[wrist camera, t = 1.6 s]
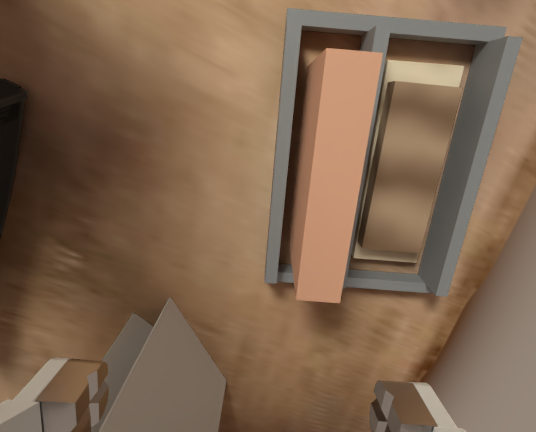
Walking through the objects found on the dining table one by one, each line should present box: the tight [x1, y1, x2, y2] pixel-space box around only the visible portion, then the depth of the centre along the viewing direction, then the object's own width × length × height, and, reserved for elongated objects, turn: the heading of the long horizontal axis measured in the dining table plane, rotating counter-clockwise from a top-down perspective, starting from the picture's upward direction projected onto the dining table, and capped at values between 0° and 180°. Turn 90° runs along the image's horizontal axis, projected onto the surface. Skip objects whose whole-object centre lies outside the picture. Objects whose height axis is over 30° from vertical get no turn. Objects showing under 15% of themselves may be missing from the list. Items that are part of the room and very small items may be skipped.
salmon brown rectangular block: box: [289, 48, 383, 303], centre depth 29 cm, size 18×4×12 cm, turn 176°
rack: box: [265, 8, 522, 297], centre depth 33 cm, size 26×19×4 cm
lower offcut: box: [351, 60, 464, 263], centre depth 35 cm, size 20×7×2 cm, turn 176°
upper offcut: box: [357, 81, 463, 253], centre depth 33 cm, size 16×6×2 cm, turn 175°
